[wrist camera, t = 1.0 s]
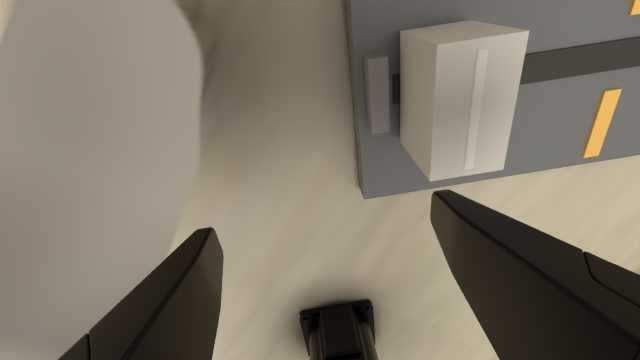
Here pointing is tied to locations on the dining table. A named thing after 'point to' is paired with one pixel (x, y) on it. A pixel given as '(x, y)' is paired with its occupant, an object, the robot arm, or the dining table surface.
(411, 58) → the fader cap
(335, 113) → the dining table surface
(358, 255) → the dining table surface
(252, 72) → the dining table surface
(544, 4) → the grey fader track
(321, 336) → the robot arm
